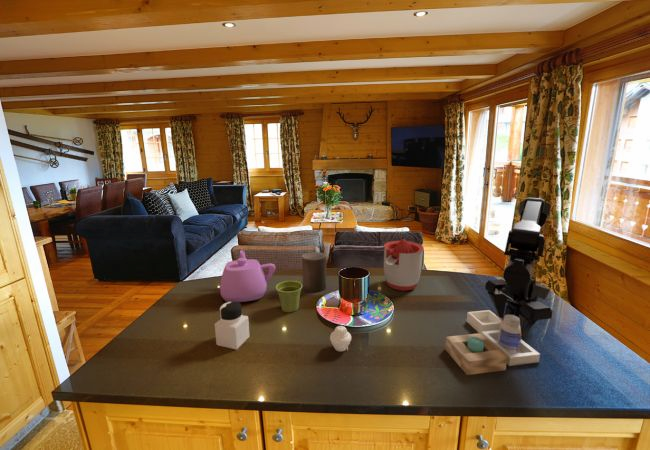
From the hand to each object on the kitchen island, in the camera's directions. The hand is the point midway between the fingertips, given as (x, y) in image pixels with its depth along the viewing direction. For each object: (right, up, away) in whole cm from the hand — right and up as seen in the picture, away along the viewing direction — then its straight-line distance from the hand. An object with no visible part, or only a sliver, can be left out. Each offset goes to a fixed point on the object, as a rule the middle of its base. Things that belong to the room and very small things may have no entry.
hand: (511, 325), depth 92 cm
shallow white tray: (0, -8, +2) cm, 8 cm away
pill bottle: (0, -7, +2) cm, 8 cm away
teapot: (-84, +1, +37) cm, 92 cm away
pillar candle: (-57, +3, +43) cm, 71 cm away
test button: (-11, -7, -2) cm, 14 cm away
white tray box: (-1, -5, +14) cm, 15 cm away
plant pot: (-65, -2, +26) cm, 70 cm away
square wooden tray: (-11, -9, -2) cm, 14 cm away
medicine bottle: (-80, -7, +7) cm, 80 cm away
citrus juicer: (-21, +3, +44) cm, 49 cm away
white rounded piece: (-48, -8, +3) cm, 48 cm away
